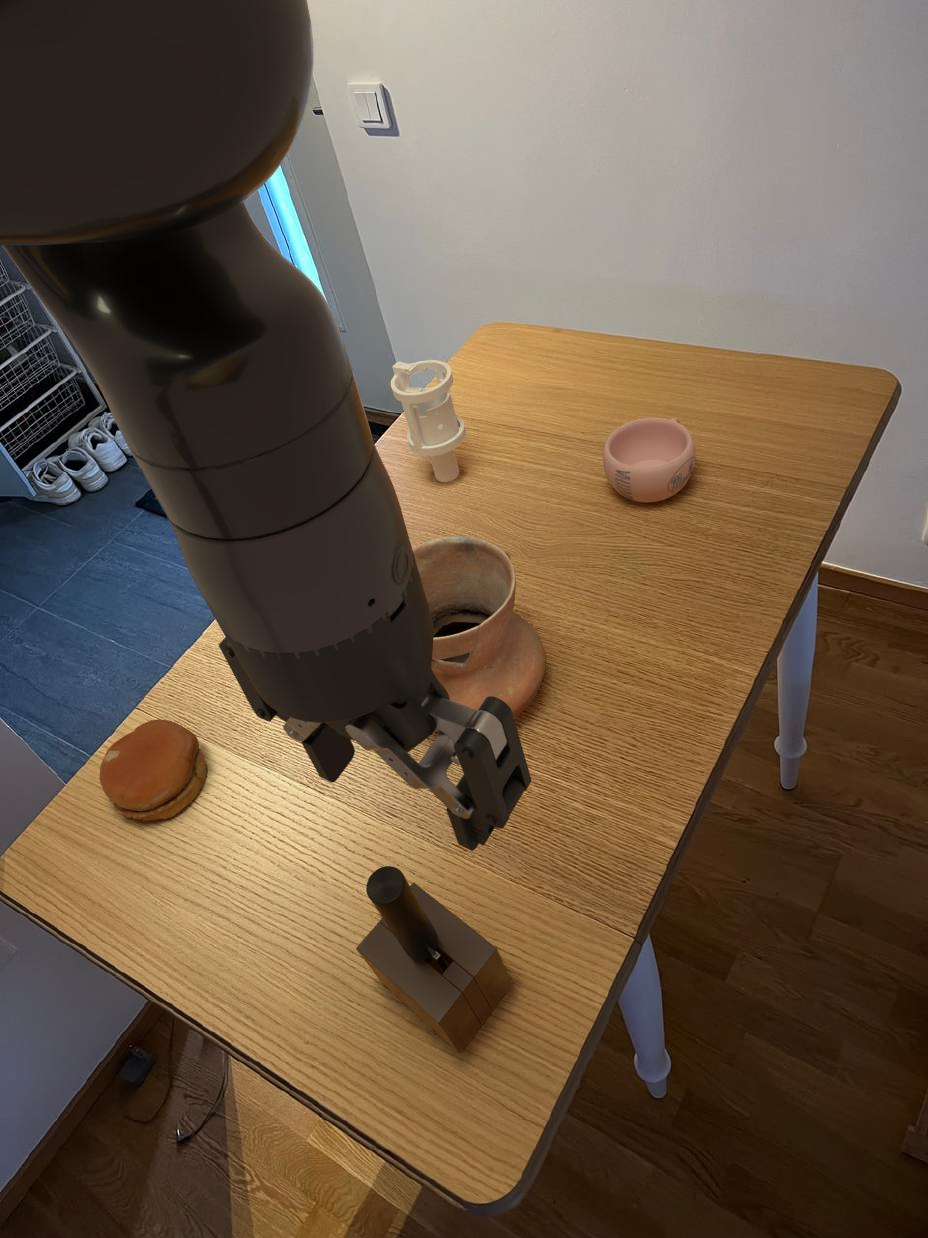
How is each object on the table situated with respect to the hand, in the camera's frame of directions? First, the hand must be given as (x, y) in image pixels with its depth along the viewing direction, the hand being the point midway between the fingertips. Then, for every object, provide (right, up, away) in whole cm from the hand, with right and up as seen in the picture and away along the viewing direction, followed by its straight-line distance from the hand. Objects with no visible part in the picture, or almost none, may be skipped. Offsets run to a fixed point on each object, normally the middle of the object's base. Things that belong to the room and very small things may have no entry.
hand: (405, 798), depth 42 cm
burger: (-26, -7, +39) cm, 47 cm away
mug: (+25, +25, +54) cm, 64 cm away
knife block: (+2, -18, +20) cm, 27 cm away
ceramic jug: (+4, +3, +39) cm, 39 cm away
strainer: (+1, +27, +62) cm, 68 cm away
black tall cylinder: (+2, -18, +20) cm, 27 cm away
